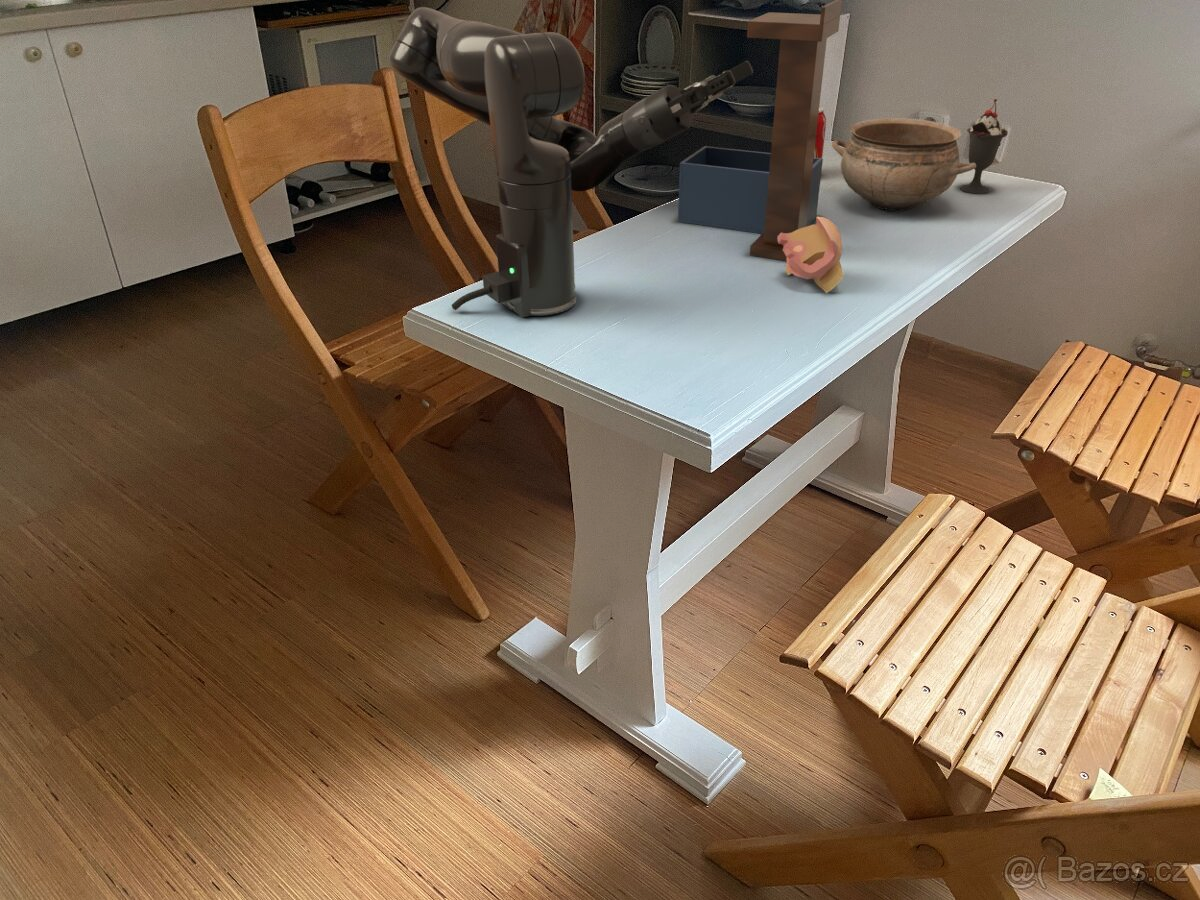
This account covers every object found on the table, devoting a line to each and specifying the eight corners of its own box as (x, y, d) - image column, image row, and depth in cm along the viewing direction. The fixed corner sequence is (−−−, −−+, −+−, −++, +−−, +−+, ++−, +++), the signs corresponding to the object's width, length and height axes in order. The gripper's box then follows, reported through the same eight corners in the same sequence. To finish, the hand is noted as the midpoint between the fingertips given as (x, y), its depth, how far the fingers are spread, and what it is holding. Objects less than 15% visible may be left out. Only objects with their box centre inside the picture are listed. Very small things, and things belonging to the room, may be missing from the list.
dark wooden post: (732, 254, 135) (749, 4, 116) (751, 235, 141) (769, -4, 123) (800, 264, 131) (829, 7, 112) (816, 244, 137) (846, -2, 119)
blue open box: (677, 221, 147) (679, 163, 142) (701, 202, 156) (704, 146, 150) (797, 238, 140) (804, 177, 134) (816, 217, 148) (823, 158, 143)
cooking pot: (800, 204, 154) (808, 131, 147) (852, 178, 166) (861, 109, 159) (940, 234, 140) (956, 155, 133) (986, 204, 152) (1002, 130, 145)
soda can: (820, 181, 165) (828, 113, 158) (781, 179, 166) (787, 112, 159) (820, 170, 171) (827, 104, 164) (782, 169, 172) (788, 103, 165)
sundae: (985, 183, 162) (1004, 96, 154) (1000, 194, 156) (1021, 104, 148) (949, 184, 162) (966, 97, 154) (963, 195, 156) (981, 105, 148)
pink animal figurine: (791, 266, 132) (845, 224, 127) (820, 318, 127) (877, 277, 122) (759, 246, 125) (814, 201, 120) (788, 301, 120) (847, 257, 116)
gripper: (682, 130, 152) (766, 86, 143) (649, 151, 142) (737, 104, 132) (663, 88, 150) (746, 40, 140) (627, 106, 140) (715, 55, 130)
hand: (741, 71), depth 136 cm, fingers open, 8 cm apart
